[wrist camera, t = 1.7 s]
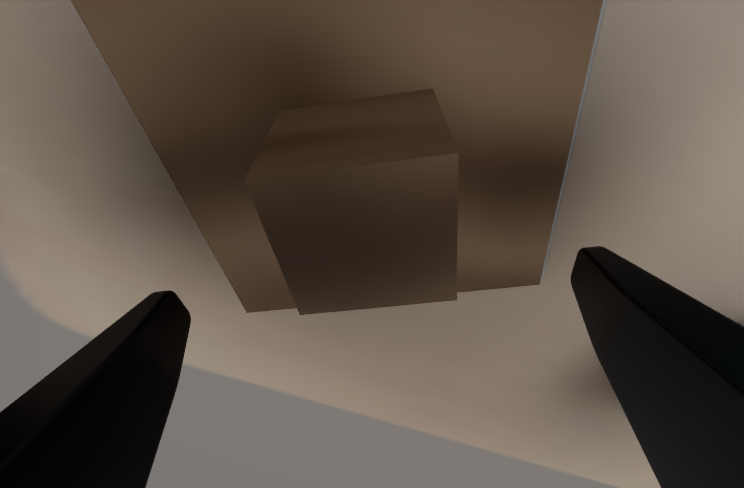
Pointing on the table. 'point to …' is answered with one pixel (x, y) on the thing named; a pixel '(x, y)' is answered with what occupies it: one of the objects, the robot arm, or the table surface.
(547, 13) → the lid
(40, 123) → the table surface
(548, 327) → the table surface
